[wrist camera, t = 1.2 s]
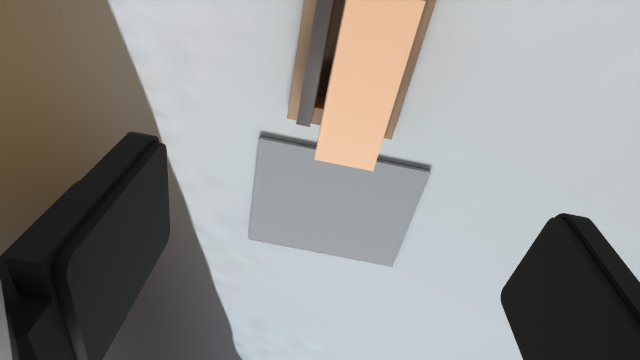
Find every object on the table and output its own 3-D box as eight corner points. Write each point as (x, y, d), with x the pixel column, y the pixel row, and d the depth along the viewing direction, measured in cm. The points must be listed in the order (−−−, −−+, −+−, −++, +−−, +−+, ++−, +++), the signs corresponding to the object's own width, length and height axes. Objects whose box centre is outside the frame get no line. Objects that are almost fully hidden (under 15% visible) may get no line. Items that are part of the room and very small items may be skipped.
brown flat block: (458, -79, 23) (476, -78, 19) (390, 133, 31) (394, 163, 27) (322, -110, 23) (315, -114, 19) (288, 112, 30) (279, 139, 27)
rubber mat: (429, 170, 32) (430, 172, 32) (391, 263, 38) (392, 266, 38) (260, 136, 32) (259, 138, 31) (249, 236, 38) (248, 239, 38)
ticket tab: (402, -29, 24) (425, 1, 15) (368, 95, 28) (373, 171, 20) (352, -40, 24) (349, -15, 15) (327, 87, 28) (314, 159, 20)
